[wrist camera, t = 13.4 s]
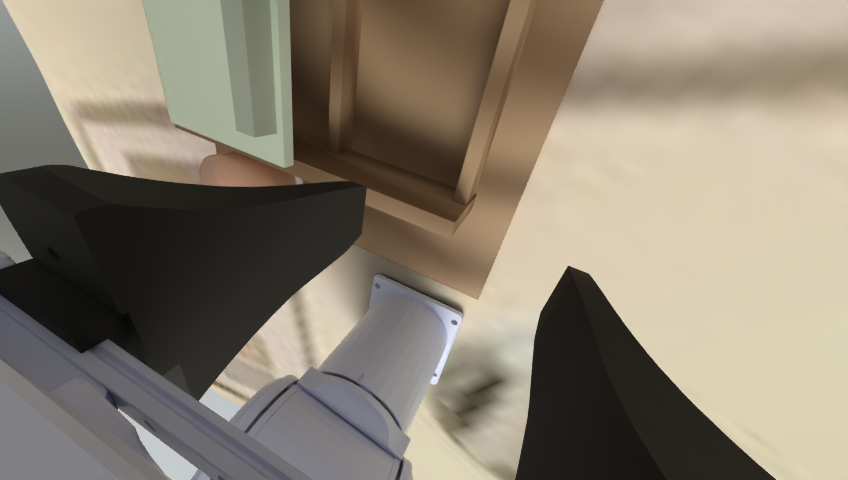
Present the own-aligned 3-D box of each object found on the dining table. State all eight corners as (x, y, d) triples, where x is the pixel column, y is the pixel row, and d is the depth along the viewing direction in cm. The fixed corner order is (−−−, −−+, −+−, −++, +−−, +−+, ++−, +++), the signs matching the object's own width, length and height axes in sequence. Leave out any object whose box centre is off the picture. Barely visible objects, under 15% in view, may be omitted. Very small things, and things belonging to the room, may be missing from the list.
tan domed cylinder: (298, 160, 22) (251, 173, 19) (294, 213, 25) (253, 233, 22) (248, 134, 23) (195, 143, 20) (250, 188, 26) (204, 204, 23)
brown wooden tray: (479, 295, 22) (460, 341, 19) (227, 183, 28) (172, 200, 24) (635, -76, 12) (667, -152, 8) (178, -134, 18) (66, -195, 14)
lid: (293, 165, 18) (263, 174, 16) (182, 120, 20) (145, 124, 18) (285, -131, 11) (235, -168, 10) (124, -150, 13) (59, -183, 12)
